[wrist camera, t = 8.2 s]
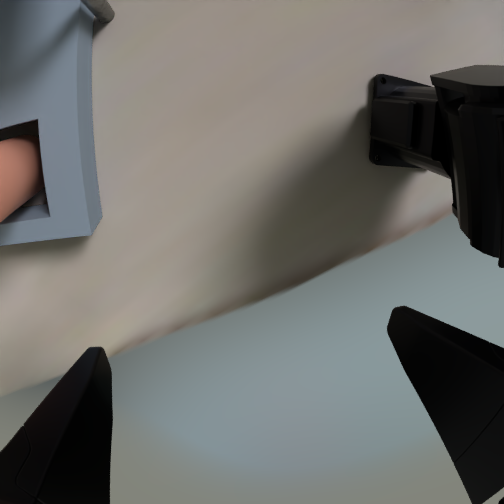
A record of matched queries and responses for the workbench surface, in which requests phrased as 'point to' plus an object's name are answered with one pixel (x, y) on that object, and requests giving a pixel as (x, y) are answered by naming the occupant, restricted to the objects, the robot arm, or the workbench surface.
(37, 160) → the peg
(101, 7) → the awning
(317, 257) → the workbench surface
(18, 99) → the socket board
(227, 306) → the workbench surface
